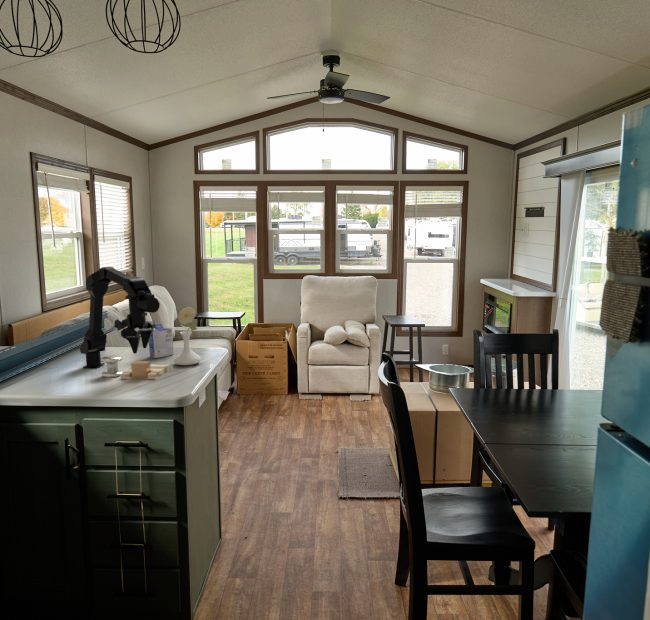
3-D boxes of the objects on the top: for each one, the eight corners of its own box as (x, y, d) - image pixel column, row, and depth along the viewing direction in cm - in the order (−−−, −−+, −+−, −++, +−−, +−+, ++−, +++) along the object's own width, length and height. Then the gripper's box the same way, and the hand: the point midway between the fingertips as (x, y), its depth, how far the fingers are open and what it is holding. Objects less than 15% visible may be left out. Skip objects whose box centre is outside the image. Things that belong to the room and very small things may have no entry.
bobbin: (108, 372, 232) (106, 355, 231) (127, 372, 231) (125, 355, 230) (98, 377, 224) (97, 360, 223) (118, 377, 223) (116, 360, 222)
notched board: (137, 368, 237) (137, 364, 237) (170, 368, 236) (170, 364, 235) (120, 379, 221) (120, 374, 221) (155, 379, 220) (155, 374, 220)
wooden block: (136, 375, 226) (135, 361, 225) (151, 376, 225) (150, 361, 224) (132, 378, 222) (131, 363, 221) (147, 378, 221) (146, 363, 220)
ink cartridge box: (168, 353, 266) (166, 322, 264) (174, 354, 262) (172, 323, 260) (148, 356, 259) (146, 325, 257) (154, 358, 255) (152, 326, 253)
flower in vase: (168, 364, 243) (165, 306, 240) (191, 359, 252) (188, 303, 248) (186, 369, 235) (182, 309, 231) (209, 364, 243) (206, 305, 239)
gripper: (127, 307, 230) (130, 345, 232) (105, 314, 211) (108, 356, 213) (154, 307, 229) (156, 345, 231) (134, 314, 210) (137, 356, 212)
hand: (140, 350), depth 222 cm, fingers open, 9 cm apart
